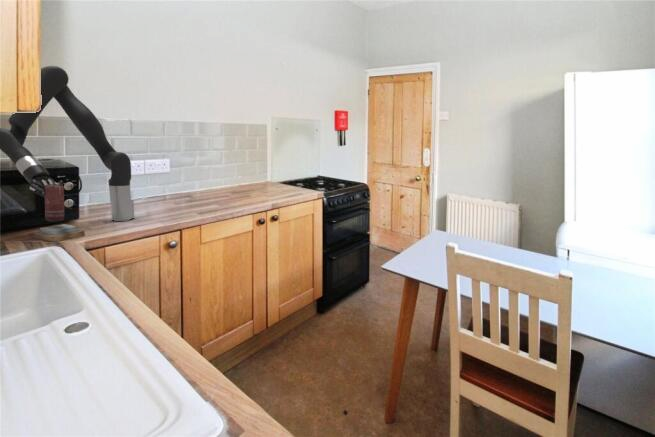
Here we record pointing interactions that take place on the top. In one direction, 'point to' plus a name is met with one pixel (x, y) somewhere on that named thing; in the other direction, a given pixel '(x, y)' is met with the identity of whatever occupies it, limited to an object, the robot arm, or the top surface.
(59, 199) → the can
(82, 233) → the stand
